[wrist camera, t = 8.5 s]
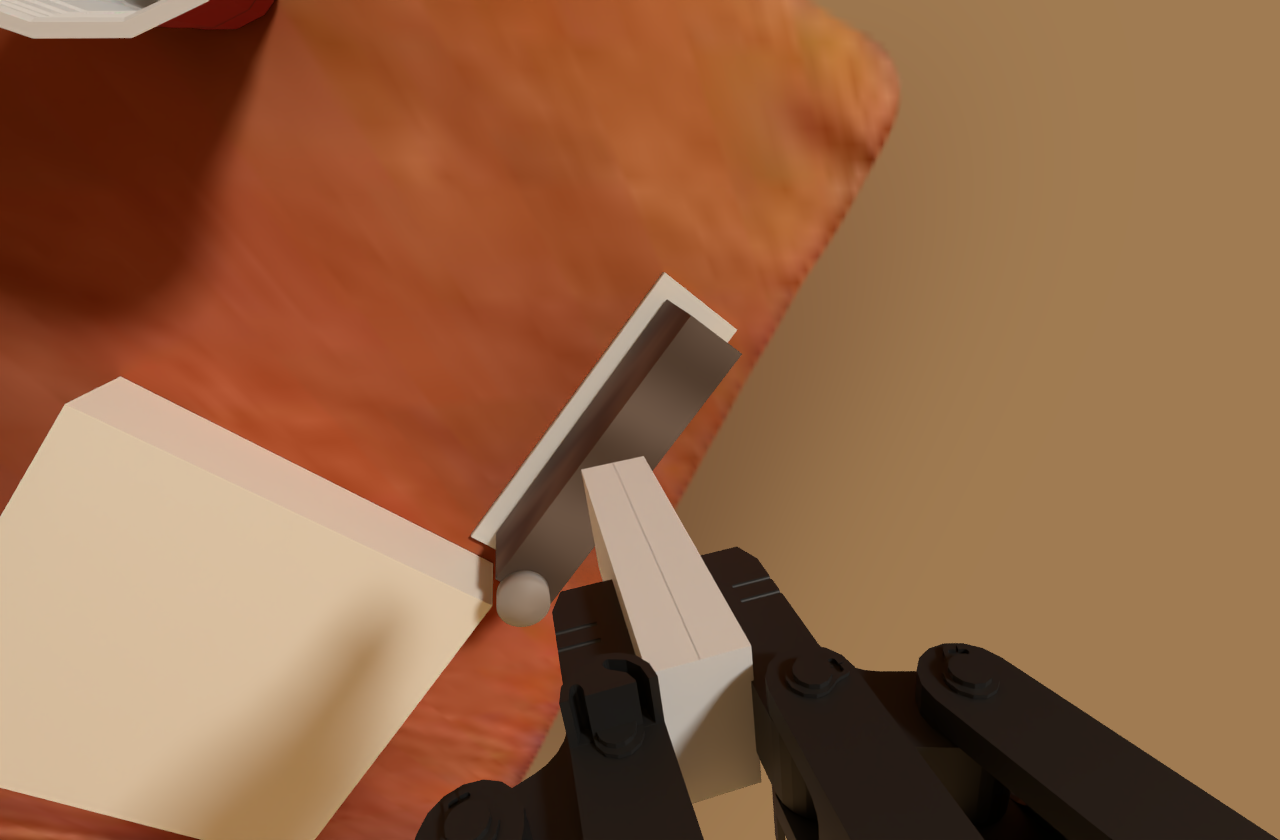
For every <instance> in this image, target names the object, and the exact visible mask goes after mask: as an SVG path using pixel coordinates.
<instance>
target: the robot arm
mask: <svg viewBox="0 0 1280 840" xmlns="http://www.w3.org/2000/svg"><path fill="white" fill-rule="evenodd" d="M581 472H582V477H583V483H584V488H585V494H586V499H587V505H588V510H589V516H590V521H591V527H592V532H593V538H594V543H595V548H596V554H597V559H598V565H599V569H600V573H601V576H602V580H603V582H599V583H595V584H591V585H586V586H582V587H578V588H574V589H570V590H566V591H562V592H560V594H559V597H558V599H557V602H556V604H555V606H554V609H553V611H552V614H553V621H554V627H555V634H556V641H557V648H558V654H559V661H560V668H561V674H562V681H563V685H562V687H561V692H560V701H559V704H560V708H561V713H562V717H563V721H564V725H565V729H566V737H565V740H564V742H563V744H562V745H561V747H560V749H559V751H558V752H557V754H556V755H555V756H554V757H553V758H552V759H551V761H550V762H549V763H548V764H547V765H546V766H545V767H543V768H542V769H541V770H539V771H538V772H537V773H535V774H534V775H532V776H531V777H529V778H528V779H526V780H524V781H523V782H521V783H520V784H518V785H516V786H515V787H513V788H511V787H509V786H508V785H506V784H504V783H503V782H500V781H491V780H480V781H476V782H472V783H468V784H464V785H462V786H460V787H459V788H457V789H456V790H454V791H452V792H451V793H449V794H447V795H446V796H444V797H443V798H442V799H441V800H440V801H439V802H438V803H437V804H436V805H435V806H434V807H433V808H432V809H431V811H430V812H429V813H428V814H427V816H426V818H425V819H424V821H423V823H422V825H421V827H420V829H419V831H418V833H417V835H416V838H415V840H704V839H703V836H702V833H701V830H700V827H699V824H698V821H697V818H696V815H695V812H694V809H693V806H692V803H696V802H699V801H702V800H705V799H708V798H712V797H715V796H718V795H721V794H724V793H728V792H731V791H734V790H737V789H740V788H744V787H747V786H750V785H753V784H756V783H760V782H761V771H760V761H761V763H762V765H763V767H764V769H765V771H766V773H767V775H768V778H769V779H770V782H771V784H772V792H773V806H774V823H775V836H776V840H785V836H786V838H787V840H1278V839H1277V838H1275V837H1274V836H1272V835H1270V834H1269V833H1267V832H1266V831H1264V830H1263V829H1261V828H1260V827H1258V826H1257V825H1255V824H1254V823H1252V822H1251V821H1249V820H1247V819H1246V818H1245V817H1243V816H1242V815H1240V814H1239V813H1237V812H1236V811H1234V810H1232V809H1231V808H1229V807H1228V806H1226V805H1225V804H1223V803H1222V802H1220V801H1219V800H1217V799H1216V798H1214V797H1213V796H1211V795H1210V794H1208V793H1207V792H1205V791H1204V790H1202V789H1200V788H1199V787H1198V786H1196V785H1194V784H1193V783H1191V782H1190V781H1188V780H1187V779H1185V778H1184V777H1182V776H1181V775H1179V774H1178V773H1176V772H1175V771H1173V770H1172V769H1170V768H1169V767H1167V766H1166V765H1164V764H1163V763H1161V762H1160V761H1158V760H1156V759H1155V758H1153V757H1152V756H1150V755H1149V754H1147V753H1146V752H1144V751H1143V750H1141V749H1140V748H1138V747H1137V746H1135V745H1134V744H1132V743H1131V742H1129V741H1128V740H1126V739H1125V738H1123V737H1121V736H1120V735H1118V734H1117V733H1115V732H1114V731H1112V730H1111V729H1109V728H1108V727H1106V726H1105V725H1103V724H1102V723H1100V722H1099V721H1097V720H1096V719H1094V718H1092V717H1091V716H1090V715H1088V714H1087V713H1085V712H1083V711H1082V710H1080V709H1079V708H1077V707H1076V706H1074V705H1073V704H1071V703H1070V702H1068V701H1067V700H1065V699H1063V698H1062V697H1061V696H1059V695H1058V694H1056V693H1054V692H1053V691H1052V690H1050V689H1048V688H1047V687H1045V686H1044V685H1042V684H1041V683H1039V682H1038V681H1036V680H1035V679H1033V678H1032V677H1030V676H1029V675H1027V674H1026V673H1024V672H1023V671H1021V670H1020V669H1018V668H1017V667H1015V666H1014V665H1012V664H1011V663H1009V662H1007V661H1006V660H1004V659H1003V658H1001V657H999V656H997V655H995V654H993V653H991V652H989V651H987V650H985V649H983V648H980V647H976V646H971V645H967V644H963V643H959V644H958V643H951V644H950V643H949V644H941V645H938V646H935V647H932V648H929V649H928V650H927V651H926V652H925V653H924V654H923V655H922V656H921V657H920V658H919V661H918V667H917V671H916V672H915V671H910V672H909V671H906V672H904V671H898V672H896V671H895V672H894V671H893V672H892V671H887V672H885V671H883V672H880V671H868V670H862V669H858V668H855V667H854V666H853V665H852V664H851V663H850V662H849V661H848V660H846V659H845V657H843V656H842V655H840V654H838V653H836V652H834V651H832V650H829V649H827V648H824V647H820V645H819V644H818V643H817V642H816V640H815V639H814V638H813V636H812V635H811V633H810V632H809V630H808V629H807V628H806V626H805V625H804V623H803V622H802V621H801V619H800V618H799V616H798V615H797V614H796V612H795V611H794V609H793V608H792V607H791V605H790V604H789V602H788V601H787V600H786V598H785V597H784V595H783V594H782V593H780V591H779V588H778V587H777V586H776V584H775V583H774V581H773V580H772V579H770V577H769V574H768V573H767V572H766V570H765V569H764V567H763V566H762V565H761V563H760V562H759V560H758V559H757V558H755V557H754V556H752V555H750V554H749V553H747V552H745V551H743V550H742V549H740V548H738V547H734V548H729V549H725V550H722V551H717V552H713V553H709V554H705V555H701V556H700V554H699V553H698V551H697V549H696V547H695V546H694V544H693V542H692V540H691V539H690V537H689V535H688V533H687V531H686V530H685V528H684V526H683V524H682V523H681V521H680V519H679V517H678V516H677V514H676V512H675V510H674V509H673V507H672V505H671V503H670V502H669V500H668V498H667V496H666V494H665V493H664V491H663V489H662V487H661V486H660V484H659V482H658V480H657V479H656V477H655V475H654V473H653V472H652V470H651V468H650V466H649V465H648V463H647V461H646V459H645V458H644V456H642V457H637V458H632V459H628V460H623V461H618V462H614V463H609V464H605V465H600V466H595V467H591V468H586V469H581Z"/></svg>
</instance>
